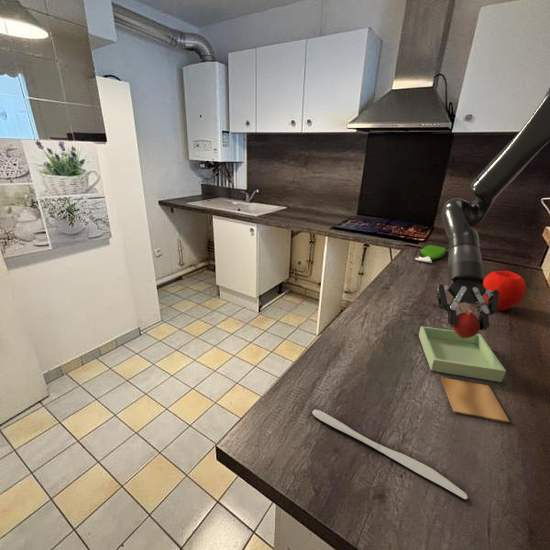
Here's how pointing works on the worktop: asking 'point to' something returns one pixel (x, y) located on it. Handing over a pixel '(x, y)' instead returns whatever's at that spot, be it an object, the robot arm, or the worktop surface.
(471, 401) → the cork mat
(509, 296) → the apple
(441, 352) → the tray
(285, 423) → the worktop surface
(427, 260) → the spray bottle
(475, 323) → the red rounded piece
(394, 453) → the butter knife
